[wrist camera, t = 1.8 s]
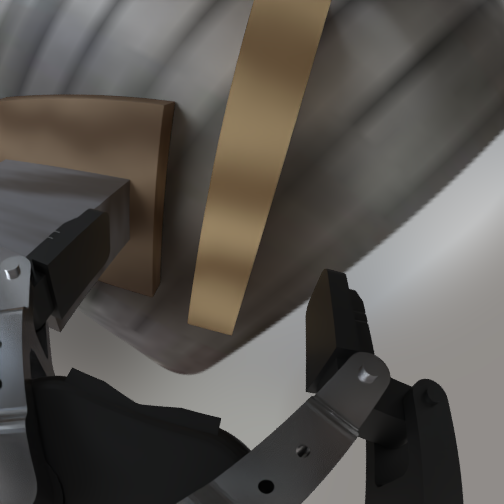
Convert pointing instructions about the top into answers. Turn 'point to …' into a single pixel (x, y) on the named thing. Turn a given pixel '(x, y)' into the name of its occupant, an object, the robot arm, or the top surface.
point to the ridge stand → (86, 179)
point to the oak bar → (252, 152)
